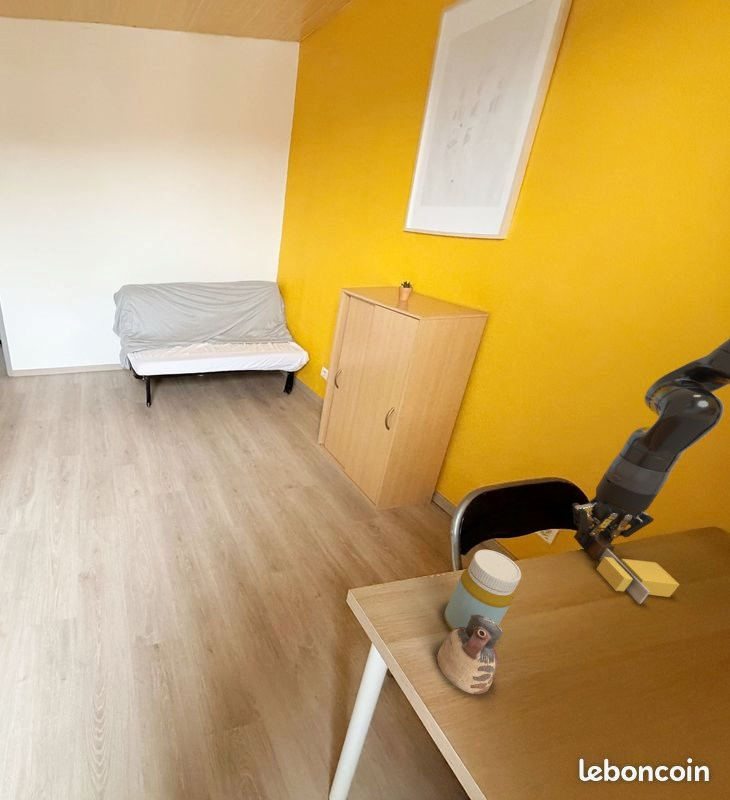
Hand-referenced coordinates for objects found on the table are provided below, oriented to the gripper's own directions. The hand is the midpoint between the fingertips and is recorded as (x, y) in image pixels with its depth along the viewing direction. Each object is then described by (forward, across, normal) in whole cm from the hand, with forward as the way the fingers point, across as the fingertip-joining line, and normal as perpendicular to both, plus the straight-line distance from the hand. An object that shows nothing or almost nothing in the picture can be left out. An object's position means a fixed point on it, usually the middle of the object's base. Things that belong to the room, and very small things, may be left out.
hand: (590, 546), depth 86 cm
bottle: (+1, +33, +22) cm, 40 cm away
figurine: (+1, +37, +30) cm, 48 cm away
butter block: (+1, -4, +8) cm, 9 cm away
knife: (+1, 0, +5) cm, 5 cm away
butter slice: (+1, +2, +8) cm, 8 cm away
